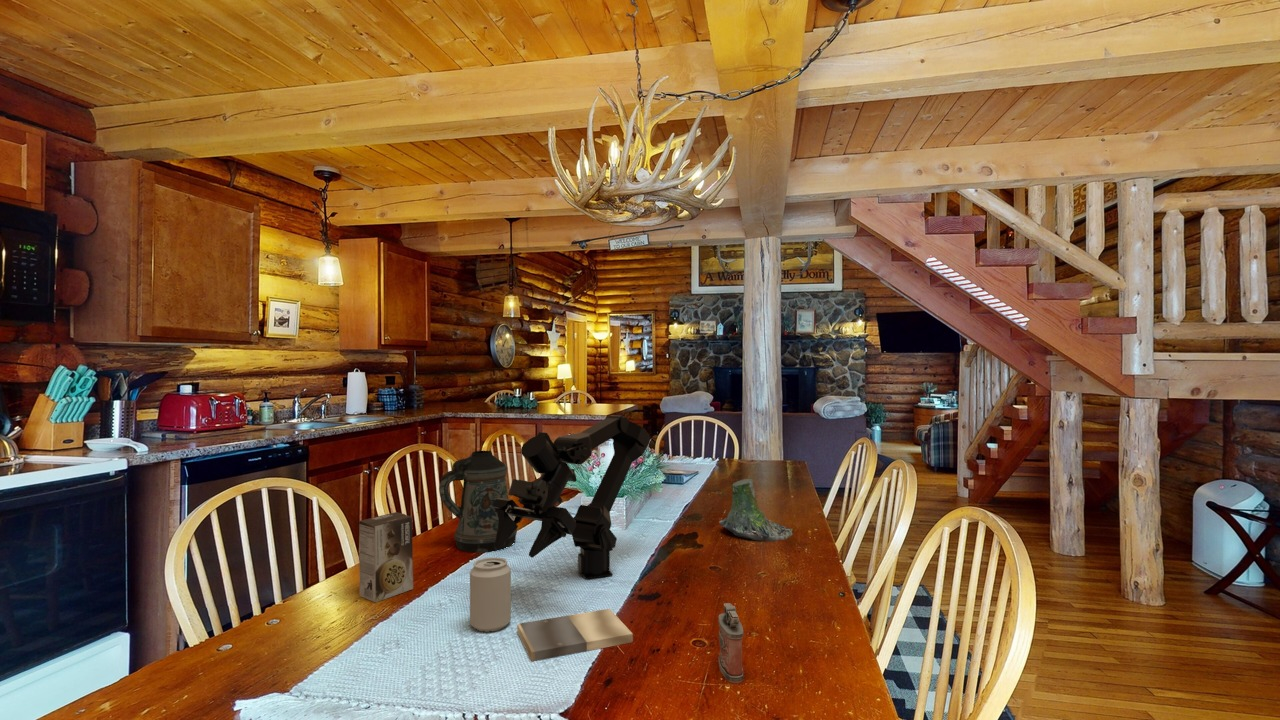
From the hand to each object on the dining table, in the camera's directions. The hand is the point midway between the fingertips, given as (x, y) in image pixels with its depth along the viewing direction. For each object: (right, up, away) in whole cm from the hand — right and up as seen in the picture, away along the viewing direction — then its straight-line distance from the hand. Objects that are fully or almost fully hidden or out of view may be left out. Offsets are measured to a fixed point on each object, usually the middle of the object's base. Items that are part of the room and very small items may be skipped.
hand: (512, 552), depth 122 cm
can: (-3, -12, -5) cm, 14 cm away
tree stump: (+58, -12, +57) cm, 82 cm away
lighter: (+40, -12, -22) cm, 47 cm away
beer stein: (-18, -12, +45) cm, 50 cm away
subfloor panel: (+13, -12, -10) cm, 21 cm away
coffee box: (-29, -12, +11) cm, 34 cm away
